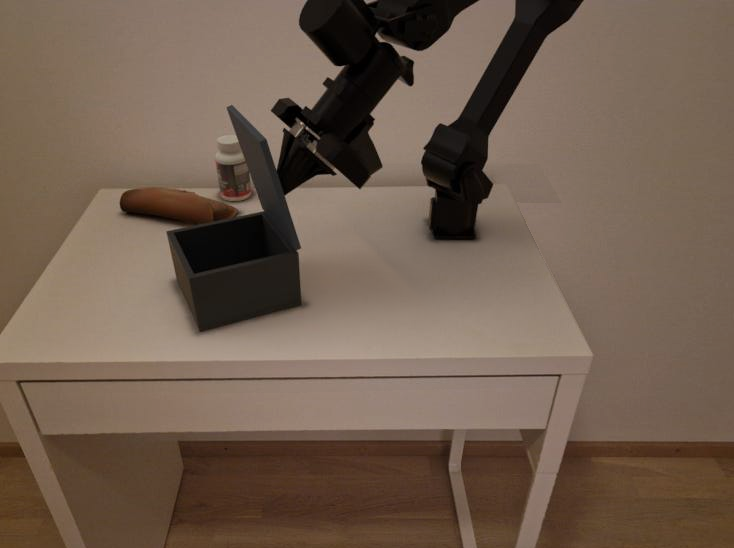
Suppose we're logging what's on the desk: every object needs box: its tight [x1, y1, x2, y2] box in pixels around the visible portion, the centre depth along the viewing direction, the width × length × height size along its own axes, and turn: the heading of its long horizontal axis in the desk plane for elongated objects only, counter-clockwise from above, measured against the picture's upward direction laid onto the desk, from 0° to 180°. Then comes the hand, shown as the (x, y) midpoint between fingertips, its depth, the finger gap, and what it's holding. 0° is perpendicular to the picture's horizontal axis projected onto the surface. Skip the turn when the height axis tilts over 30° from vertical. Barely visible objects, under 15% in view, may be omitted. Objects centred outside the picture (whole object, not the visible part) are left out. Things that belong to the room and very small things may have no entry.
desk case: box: [165, 210, 303, 333], centre depth 77 cm, size 14×13×8 cm
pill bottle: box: [214, 134, 252, 202], centre depth 100 cm, size 5×5×10 cm
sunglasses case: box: [119, 187, 239, 225], centre depth 97 cm, size 18×7×7 cm, turn 69°
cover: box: [226, 104, 302, 252], centre depth 71 cm, size 14×13×1 cm
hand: (275, 196), depth 73 cm, fingers closed, pressing on cover
